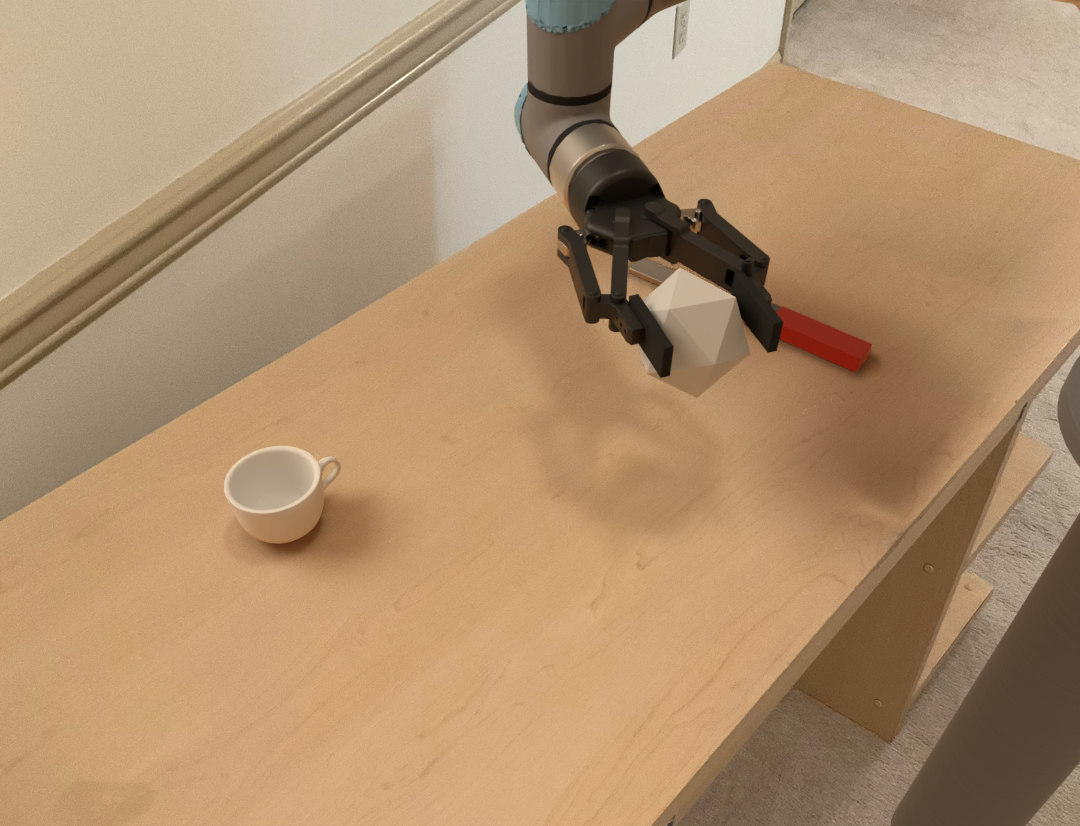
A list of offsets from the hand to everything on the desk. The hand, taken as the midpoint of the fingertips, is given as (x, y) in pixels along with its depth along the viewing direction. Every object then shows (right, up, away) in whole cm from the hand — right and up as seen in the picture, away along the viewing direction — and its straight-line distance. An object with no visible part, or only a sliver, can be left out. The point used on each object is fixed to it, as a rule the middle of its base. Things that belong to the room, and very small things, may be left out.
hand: (721, 349), depth 74 cm
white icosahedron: (-2, -1, +8) cm, 8 cm away
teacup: (-34, -12, +14) cm, 39 cm away
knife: (+7, +10, +32) cm, 34 cm away
